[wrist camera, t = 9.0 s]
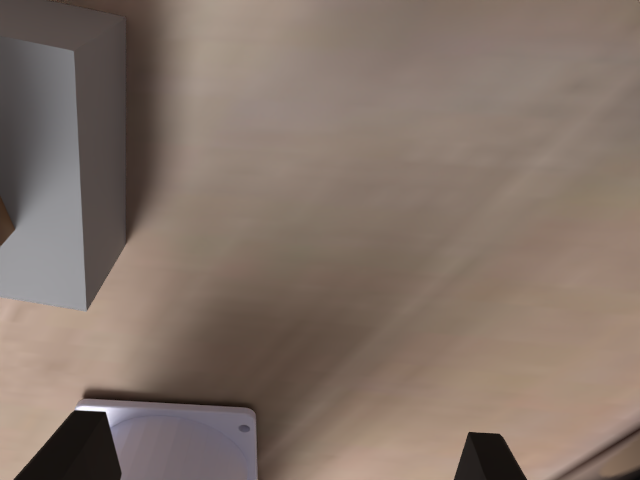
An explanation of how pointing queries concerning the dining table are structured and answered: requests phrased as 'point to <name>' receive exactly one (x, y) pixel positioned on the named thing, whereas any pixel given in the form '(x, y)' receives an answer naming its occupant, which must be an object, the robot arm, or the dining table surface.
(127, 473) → the robot arm
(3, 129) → the slate base block
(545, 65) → the dining table surface
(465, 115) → the dining table surface
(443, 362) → the dining table surface
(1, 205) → the walnut block
